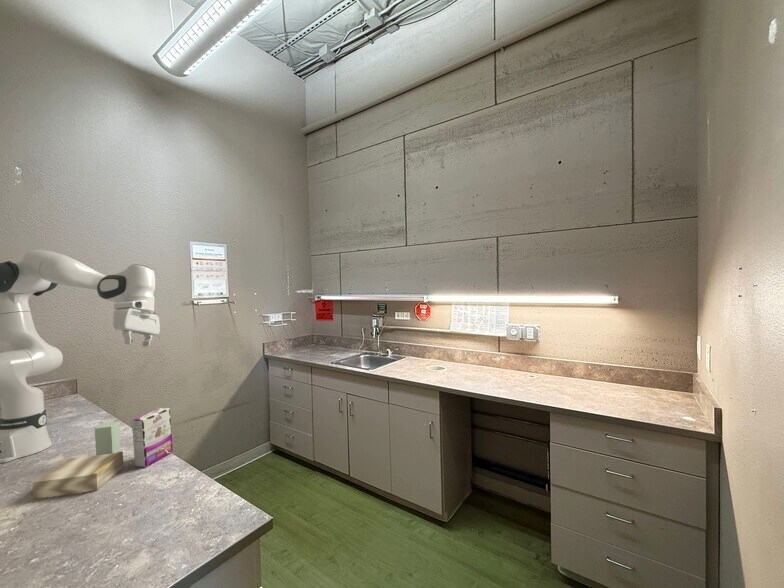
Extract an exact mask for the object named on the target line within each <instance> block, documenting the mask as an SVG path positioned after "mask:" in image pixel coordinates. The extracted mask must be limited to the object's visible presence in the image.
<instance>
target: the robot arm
mask: <svg viewBox="0 0 784 588" xmlns="http://www.w3.org/2000/svg"><path fill="white" fill-rule="evenodd" d="M58 285H62V286H67V287H68V286H69V287H74V288H75V287H76V288H82V289H89V290H95V291H97V295H98V296H99V297H100V298H101V299H103V300H105V301H106V300H107V301H110V302H113V303H114V305H113V308H114V312H113V316H112V319H113V321H112V326H113V328H114V330H116V331H121V332H122V333H121V334H122V336H123V339H124V344H125V345H132V344H133V343H134V342H133V341H134V339H133V338H132V334H139V335H144V337H143V338H144V341H142V345H141V346H142V347H145V348H146V347H150V345H151V341H152V340H153V336H158V335H160V333H161V324H160V317H159V316H158V315H157V313H156V312H155V304H156V303H155V301H156V300H155V299H156V298H155V296H154V294H155V290H156V273H155V271H154V269H153V268H152V267H149V266H146V265H142V264H135V263H134V264H130V265H128V266H127V267H126V268H125V269H124V270H122V271H120V272H116V273H113V274H108V275H105V274H103V273H101V272H99V271H98V270H95V269H93V268H92V267H90V266H88V265H87V264H84V263H82V262H81V261H79V260H77V259H75V258H72V257H70V256H68V255H65V254H63V253H59V252H56V251H51V250H45V249H34V250H33V249H32V250H29V251H27V252H26V253H25V254H23V256H22V259H21V260H20V261H18V262H12V261H10V260H8V261H3V262H0V342H2V343H6V344H8V345H9V346H11V347H12V348H13V350H9V351H3V352H0V409H1V418H0V464H1V463H2V464H3V463H8V462H11V461H14V460H16V459H20V458H23V457H27V456H31V455H34V454H37V453H39V452H41V451H44V450H46V449H48V448H50V447H52V446H53V442H52V440H51V438H50V435H49V432H48V428H47V422H48V421H47V418H48V417H47V416H48V415H47V410H46V409H45V398H44V396H45V395H44V392H43V390H42V389H41V388H39V387H35V386H32V385H29V384H28V382H27V378H31V377H35V376H39V375H43V374H47V373H49V372H52V371H54V370H56V369H58V368H60V367H61V365H62V364H63V361H64V355H63V352H62V351H61V350H60V349H59V348H58V347H56V346H54V345H51V344H49V343H47V342H46V341H45V339H43V338H42V337H41V335H39V332H37V330H36V326H35V324H34V320H33V314H32V313H31V311H32V310H31V307H30V303H29V299H30V297H31V296H32V295H33V296H35V297H39V296H41V295H43V294H44V293H46V292H50V291H52V290H54V289H55V288H56V287H58Z"/></svg>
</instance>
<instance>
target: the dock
mask: <svg viewBox="0 0 784 588" xmlns="http://www.w3.org/2000/svg"><path fill="white" fill-rule="evenodd" d="M123 468H124V451H123V450H121V452H117V453H112V454H104V455H96V454H95V455H89V456H80V457H72V458H71V457H70V458H67V459H65V460H64V461H62V462H60V463H58V464H57V465H56V466H55V467H54V468H52V469H51V470H49V471H47V472H46V473H44V474H43V475H41V476H40V477H38V478H37V479H36V480H34V481H32V492H33V493H32V494H33V495H32V496H33V500H39V499H47V497H48V498H54V496H55V497H60V496H61V495H62V496H70V495H74V494H76V495H77V494H83V492H84V493H90V492H89V491H91V492H97V491H96V490H98V489H99V490H100V489H101V488H102V487H103V486H104V485H106V483H107V482H108V480H109V481H110V480H111V479H112V478H113V477H114V476H115V475H116V474H118V473H119V472H120V471H119V470H122V469H123ZM99 490H98V491H99Z"/></svg>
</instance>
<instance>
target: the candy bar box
mask: <svg viewBox="0 0 784 588" xmlns="http://www.w3.org/2000/svg"><path fill="white" fill-rule="evenodd" d="M131 425H132V426H131V428H132V429H131V430H132V441H133V453H134V454H133V455H134V466H135V467H136V466H141V467H140V468H147V466H148V467H150V466H151V465H153V464H154V463H157V462H158V461H159V460H161V459H163V458H165V457H166V456H168V455H169V454H167V452H166V451H165V450H167V451H168V452H170V454H171V453H173V452H174V450H173V436H172V435H173V434H172V420H171V408H168V407H158V408H157V409H154V410H152V411H149V412H146V413H144V414H142V415H140V416H137V417H135V418H133V419H131ZM162 448H164V449H162ZM152 463H153V464H152Z"/></svg>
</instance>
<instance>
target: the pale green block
mask: <svg viewBox="0 0 784 588" xmlns="http://www.w3.org/2000/svg"><path fill="white" fill-rule="evenodd" d="M120 431H121V429H120V421H109V422H103V423H101V424H99V425H98V426H96V427H95V428H94V439H95V441H94V443H95V456H96V455H104V454H112V453H117V452H122V447H121V432H120Z"/></svg>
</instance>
